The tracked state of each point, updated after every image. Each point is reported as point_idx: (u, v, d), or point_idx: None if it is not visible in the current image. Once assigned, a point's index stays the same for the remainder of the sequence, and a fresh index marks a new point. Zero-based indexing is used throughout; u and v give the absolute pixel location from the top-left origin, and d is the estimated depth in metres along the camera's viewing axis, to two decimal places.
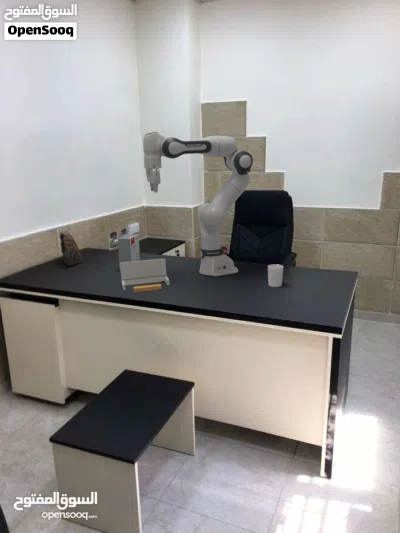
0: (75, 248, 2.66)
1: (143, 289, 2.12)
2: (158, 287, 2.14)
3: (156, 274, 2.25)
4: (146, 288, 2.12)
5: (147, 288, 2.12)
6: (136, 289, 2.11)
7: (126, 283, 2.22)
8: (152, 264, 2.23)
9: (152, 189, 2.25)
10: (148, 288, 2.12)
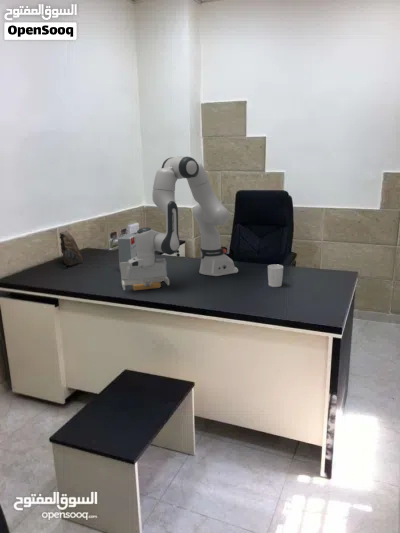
0: (75, 248, 2.66)
1: (142, 287, 2.15)
2: (157, 285, 2.17)
3: None
4: None
5: None
6: (135, 287, 2.14)
7: (126, 283, 2.22)
8: None
9: None
10: None
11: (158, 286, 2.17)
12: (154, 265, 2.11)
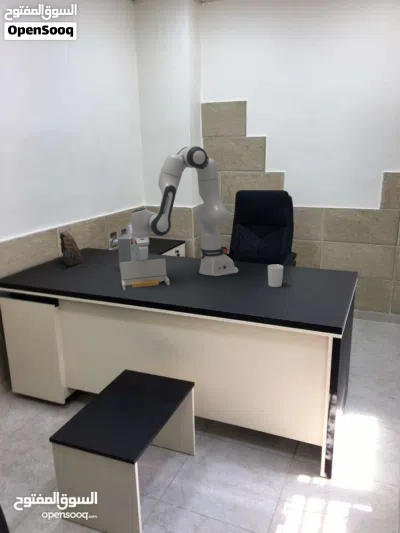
0: (75, 248, 2.66)
1: (141, 284, 2.19)
2: (155, 282, 2.21)
3: (156, 274, 2.25)
4: (144, 283, 2.19)
5: (145, 283, 2.19)
6: (134, 284, 2.18)
7: (126, 283, 2.22)
8: (152, 264, 2.23)
9: None
10: (146, 283, 2.20)
11: (156, 284, 2.21)
12: None
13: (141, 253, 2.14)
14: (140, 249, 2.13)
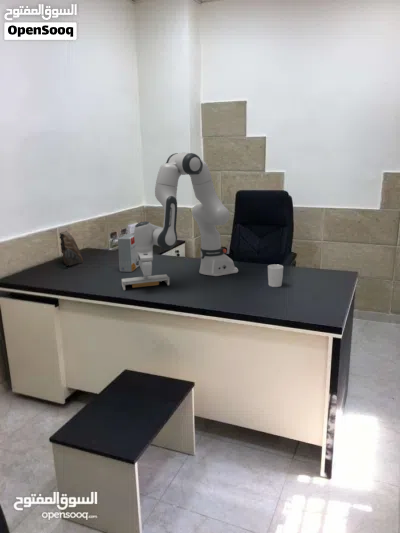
0: (75, 248, 2.66)
1: (141, 284, 2.19)
2: (155, 282, 2.21)
3: None
4: (144, 283, 2.19)
5: (144, 283, 2.19)
6: (134, 284, 2.18)
7: None
8: None
9: None
10: (145, 283, 2.20)
11: (156, 284, 2.21)
12: None
13: (145, 269, 2.06)
14: (143, 265, 2.05)
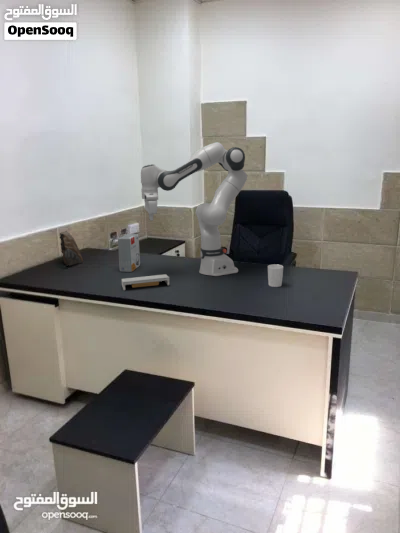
0: (75, 248, 2.66)
1: (140, 284, 2.19)
2: (155, 283, 2.21)
3: None
4: (143, 283, 2.19)
5: (144, 283, 2.19)
6: (134, 284, 2.18)
7: None
8: None
9: None
10: (145, 283, 2.20)
11: (156, 284, 2.21)
12: None
13: (150, 207, 2.21)
14: (149, 203, 2.21)
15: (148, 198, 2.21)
